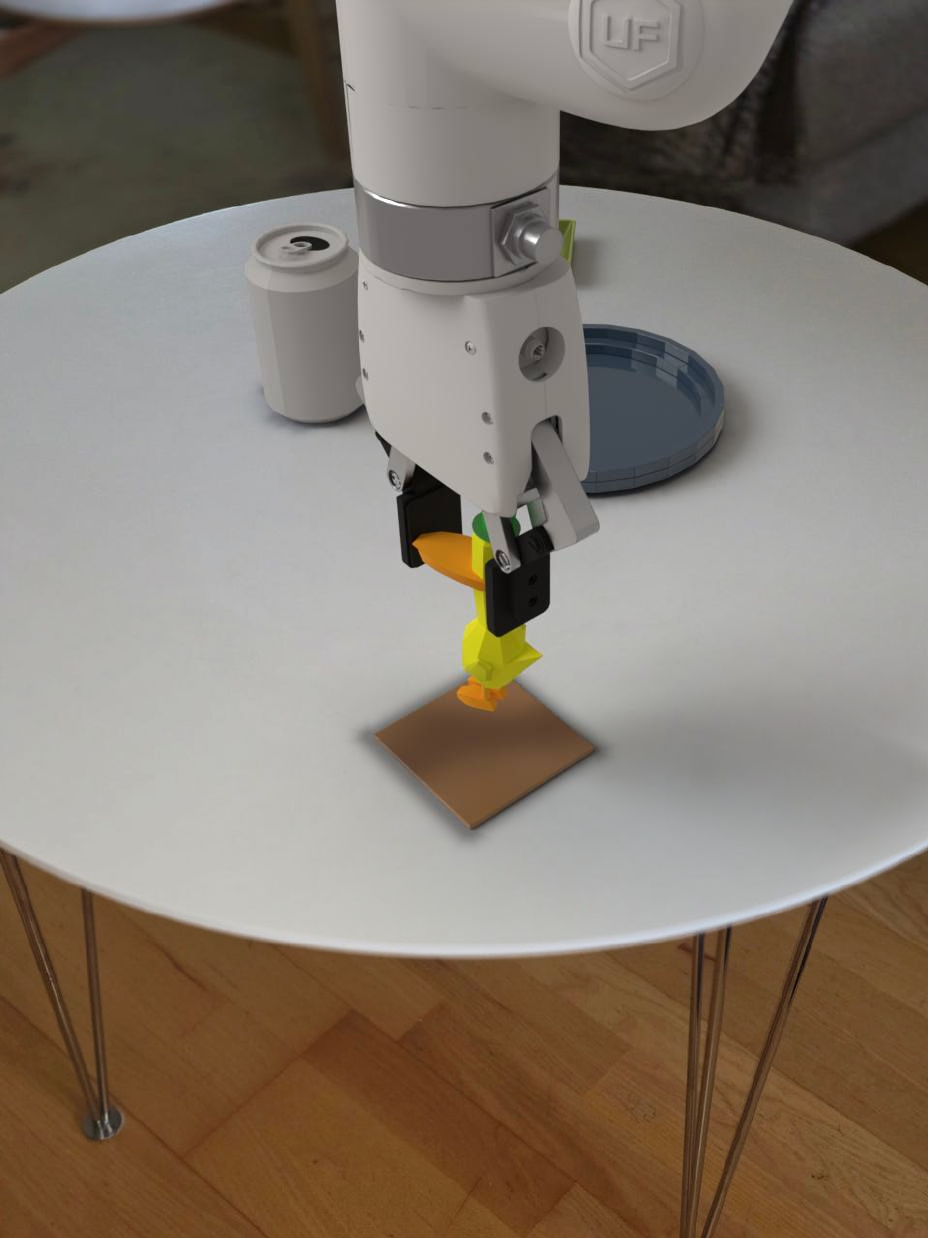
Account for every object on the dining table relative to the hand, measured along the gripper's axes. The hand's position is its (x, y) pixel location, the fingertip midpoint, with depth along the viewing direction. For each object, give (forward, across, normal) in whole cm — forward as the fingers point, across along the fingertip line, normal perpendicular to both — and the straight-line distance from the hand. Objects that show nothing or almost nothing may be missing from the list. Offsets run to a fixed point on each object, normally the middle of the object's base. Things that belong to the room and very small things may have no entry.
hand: (474, 583), depth 62 cm
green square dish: (+11, +39, -35) cm, 53 cm away
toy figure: (+7, 0, 0) cm, 7 cm away
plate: (+11, +19, -24) cm, 32 cm away
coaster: (+11, 0, 0) cm, 11 cm away
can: (+11, +33, -12) cm, 37 cm away
